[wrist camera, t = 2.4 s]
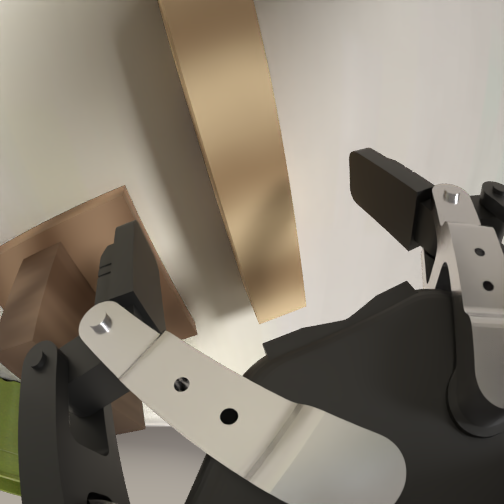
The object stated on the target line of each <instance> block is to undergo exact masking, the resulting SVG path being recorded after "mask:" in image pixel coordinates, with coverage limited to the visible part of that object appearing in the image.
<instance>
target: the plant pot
mask: <svg viewBox="0 0 504 504" xmlns="http://www.w3.org/2000/svg"><path fill="white" fill-rule="evenodd" d="M20 385H21V383H19V382H15V381H11V382H8V381H5V380H3V379H1V378H0V490H1V491H4V492H7V493H10V494H14V495H18V496H21V489H20V478H19V462H18V414H19V397H20Z"/></svg>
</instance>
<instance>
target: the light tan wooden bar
mask: <svg viewBox="0 0 504 504" xmlns="http://www.w3.org/2000/svg"><path fill="white" fill-rule="evenodd" d="M157 1H158V5H159V8H160V12H161V15H162V19H163V23H164V26H165V30H166V33H167V37H168V40H169V44H170V47H171V51H172V54H173V58H174V61H175V65H176V68H177V72H178V75H179V78H180V82H181V85H182V89H183V92H184V95H185V99H186V102H187V106H188V109H189V112H190V116H191V119H192V122H193V126H194V129H195V132H196V135H197V139H198V142H199V145H200V149H201V152H202V155H203V158H204V162H205V165H206V168H207V171H208V175H209V178H210V181H211V184H212V187H213V191H214V194H215V197H216V200H217V203H218V207H219V210H220V213H221V216H222V219H223V222H224V225H225V229H226V232H227V235H228V238H229V241H230V244H231V247H232V250H233V254H234V257H235V260H236V263H237V266H238V269H239V272H240V275H241V278H242V281H243V284H244V287H245V289H246V292H247V294H248V297H249V300H250V302H251V305H252V307H253V310H254V312H255V315H256V317H257V320H258V322H259V324H261V323H264V322H266V321H269V320H272V319H274V318H277V317H280V316H282V315H285V314H288V313H290V312H293V311H295V310H298V309H300V308H303V307H306V300H305V291H304V283H303V275H302V267H301V259H300V252H299V244H298V237H297V230H296V223H295V216H294V209H293V203H292V196H291V190H290V183H289V177H288V171H287V165H286V159H285V153H284V147H283V142H282V136H281V130H280V125H279V120H278V114H277V109H276V104H275V98H274V93H273V88H272V83H271V78H270V73H269V69H268V64H267V59H266V54H265V50H264V45H263V41H262V36H261V32H260V27H259V23H258V19H257V14H256V10H255V6H254V2H253V0H157Z"/></svg>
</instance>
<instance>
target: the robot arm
mask: <svg viewBox="0 0 504 504" xmlns="http://www.w3.org/2000/svg"><path fill="white" fill-rule="evenodd" d="M349 166H350V191H351V195H352V197H353V199H354V201H355V202H356V203H357V204H358V205H359V206H360V207H361V208H362V209H364V210H365V211H366V212H367V213H368V214H369V215H370V216H371V217H373V218H374V219H375V220H376V221H377V222H378V223H379V224H380V225H381V226H382V227H383V228H385V229H386V230H387V231H388V232H389V233H390V234H391V235H392V236H393V237H394V238H395V239H396V240H397V241H398V242H399V243H401V244H402V245H403V246H404V247H405V248H406V249H407V250H408V251H410V250H412V249H414V248H416V247H419V246H421V247H422V252H421V264H422V279H423V289H419V290H415V289H414V288H413V287H412V286H411V285H410V284H409V283H408V282H407V281H405V282H403V283H401V284H399V285H397V286H395V287H393V288H391V289H389V290H387V291H385V292H383V293H381V294H379V295H377V296H375V297H374V298H373V299H372V300H371V301H369V302H368V303H367V304H366V305H364V306H363V307H362V308H361V309H360V310H358V311H357V312H356V313H355V314H353V315H352V316H351V317H349V318H348V319H346V320H342V321H337V322H332V323H327V324H322V325H316V326H311V327H305V328H301V329H299V330H296V331H294V332H291V333H289V334H286V335H283V336H281V337H278V338H276V339H273V340H270V341H268V342H265V343H262V344H263V347H264V350H265V354H266V356H264V357H263V358H261V359H260V360H258V361H257V362H256V363H255V364H254V365H252V366H251V367H250V368H249V369H248V370H247V371H246V372H245V373H244V375H243V376H241V375H239V374H238V373H236V372H234V371H232V370H231V369H229V368H227V367H225V366H224V365H222V364H220V363H218V362H217V361H215V360H213V359H212V358H210V357H208V356H207V355H205V354H203V353H202V352H200V351H199V350H197V349H195V348H194V347H192V346H190V345H189V344H187V343H186V342H184V341H183V340H181V339H179V338H178V337H176V336H175V335H173V334H172V333H170V332H168V331H166V325H165V318H164V310H163V302H162V294H161V285H160V276H159V268H158V265H157V261H156V259H155V256H154V254H153V252H152V250H151V248H150V246H149V244H148V242H147V240H146V237H145V235H144V233H143V231H142V229H141V227H140V225H139V223H138V222H137V220H134V221H131V222H128V223H126V224H123V225H121V226H118V227H116V229H115V237H114V243H113V244H111V245H108V246H107V247H106V249H105V250H104V252H103V254H102V256H101V258H100V264H99V271H98V279H97V287H96V296H95V305H94V307H92V308H91V309H90V310H89V311H88V312H87V313H86V314H85V315H84V317H83V318H82V320H81V322H80V325H79V336H77V337H76V338H74V339H73V340H71V341H70V342H68V343H67V344H65V345H64V346H62V347H61V348H58V347H57V346H56V345H55V344H54V343H53V342H51V341H48V340H45V341H41V342H39V343H37V344H36V345H34V346H33V347H32V348H31V349H30V351H29V352H28V353H27V355H26V357H25V359H24V362H23V366H22V375H21V385H20V397H19V414H18V462H19V478H20V489H21V497H22V504H130V502H129V497H128V493H127V489H126V485H125V481H124V476H123V472H122V467H121V462H120V457H119V452H118V446H117V441H116V434H115V428H114V421H113V414H112V406H111V403H112V402H113V401H115V400H117V399H118V398H120V397H121V396H123V395H124V394H126V393H128V392H129V391H131V392H133V393H134V394H135V395H136V396H137V397H138V398H139V399H140V400H141V401H142V402H143V403H145V404H146V405H147V406H148V407H149V408H150V409H151V410H153V411H154V412H155V413H156V414H157V415H158V416H160V417H161V418H162V419H163V420H164V421H166V422H167V423H168V424H169V425H170V426H172V427H173V428H174V429H176V430H177V431H178V432H179V433H181V434H182V435H183V436H184V437H186V438H187V439H188V440H190V441H191V442H192V443H194V444H195V445H196V446H198V447H199V448H200V449H202V450H203V451H204V452H206V456H205V458H204V461H203V463H202V465H201V468H200V470H199V472H198V474H197V477H196V479H195V481H194V484H193V486H192V488H191V490H190V493H189V495H188V497H187V500H186V502H185V504H504V245H503V244H502V243H501V242H502V239H503V236H504V185H502V184H500V183H497V182H491V181H488V182H485V183H483V185H482V189H481V194H480V195H475V196H469V194H468V193H467V192H466V191H465V190H464V189H462V188H460V187H458V186H455V185H452V184H438V185H436V186H435V185H433V184H432V183H430V182H429V181H427V180H426V179H424V178H423V177H421V176H420V175H418V174H416V173H415V172H412V170H410V169H408V168H407V167H406V168H405V166H404V165H402V164H400V163H399V162H397V161H395V160H392V159H389V158H387V157H385V156H383V155H382V154H380V153H378V152H376V151H375V150H373V149H371V148H365V149H361V150H357V151H353V152H351V153H350V156H349ZM69 421H70V424H69Z"/></svg>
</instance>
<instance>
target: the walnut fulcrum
mask: <svg viewBox="0 0 504 504" xmlns="http://www.w3.org/2000/svg"><path fill="white" fill-rule="evenodd" d="M134 220H137V222H138V223H139V225H140V227H141V229H142V231H143V233H144V235H145V237H146V240H147V242H148V244H149V246H150V248H151V250H152V252H153V254H154V256H155V259H156V261H157V265H158V268H159V276H160V285H161V294H162V302H163V310H164V318H165V325H166V331H168V332H170V333H172V334H173V335H175V336H176V337H178V338H179V339H181V340H182V339H185V338H188V337H192V336H195V335H198V334H197V330H196V325H195V322H194V320H193V318H192V316H191V315H190V313H189V311H188V309H187V308H186V306H185V304H184V302H183V301H182V299H181V297H180V295H179V293H178V291H177V290H176V288H175V286H174V284H173V282H172V280H171V278H170V277H169V275H168V273H167V271H166V269H165V267H164V265H163V263H162V261H161V259H160V258H159V256H158V254H157V252H156V250H155V248H154V246H153V244H152V242H151V240H150V238H149V236H148V234H147V232H146V230H145V228H144V226H143V223H142V221H141V219H140V217H139V215H138V213H137V211H136V209H135V207H134V205H133V202H132V200H131V198H130V196H129V194H128V191H127V189H126V187H125V185H124V186H122V187H119V188H117V189H114V190H112V191H110V192H107V193H105V194H103V195H101V196H98V197H96V198H94V199H92V200H89V201H87V202H85V203H83V204H81V205H78V206H76V207H74V208H72V209H70V210H68V211H66V212H64V213H62V214H60V215H58V216H56V217H54V218H52V219H50V220H48V221H46V222H44V223H42V224H40V225H38V226H36V227H34V228H32V229H30V230H28V231H27V232H25V233H23V234H21V235H19V236H17V237H16V238H14V239H12V240H10V241H8V242H7V243H5V244H3V245H1V246H0V306H1V307H2V308H3V309H4V311H3V314H2V317H1V320H0V363H2V364H3V365H4V366H5V367H6V368H7V369H9V370H10V371H11V372H12V373H13V374H15V375H16V376H17V377H18V378H20V379H21V375H22V366H23V362H24V359H25V357H26V355H27V353H28V352H29V351H30V349H31V348H32V347H33V346H34V345H36V344H37V343H39V342H41V341H45V340H48V341H51V342H53V343H54V344H55V345H56V346H57V347H58V348H61V347H62V346H64V345H65V344H67V343H68V342H70V341H71V340H73V339H74V338H76V337H77V336H79V325H80V322H81V320H82V318H83V317H84V315H85V314H86V313H87V312H88V311H89V310H90V309H91V308H92V307H94V305H95V296H96V287H97V279H98V271H99V264H100V258H101V256H102V254H103V252H104V250H105V249H106V247H107V246H108V245H111V244H113V243H114V237H115V229H116V227H118V226H121V225H123V224H126V223H128V222H131V221H134ZM111 406H112V414H113V421H114V428H115V434H116V435H117V434H122V433H128V432H133V431H138V430H143V429H145V421H144V413H143V405H142V401H141V400H140V399H139V398H138V397H137V396H136V395H135V394H134V393H133V392H131V391H129V392H128V393H126V394H124V395H123V396H121V397H120V398H118V399H117V400H115V401H113V402H112V403H111Z"/></svg>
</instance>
